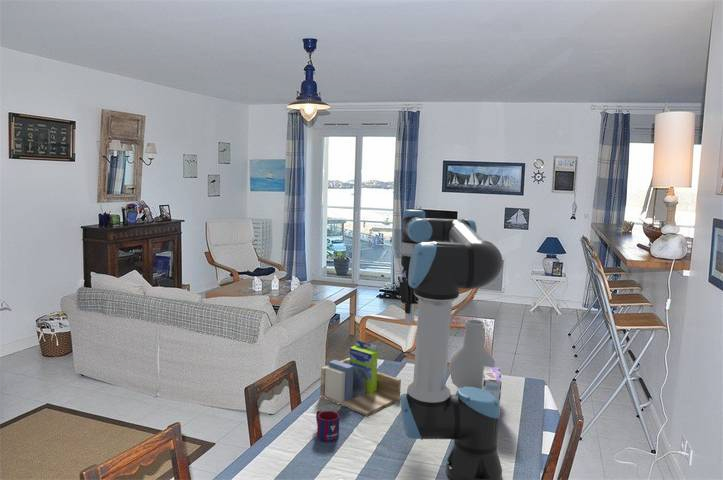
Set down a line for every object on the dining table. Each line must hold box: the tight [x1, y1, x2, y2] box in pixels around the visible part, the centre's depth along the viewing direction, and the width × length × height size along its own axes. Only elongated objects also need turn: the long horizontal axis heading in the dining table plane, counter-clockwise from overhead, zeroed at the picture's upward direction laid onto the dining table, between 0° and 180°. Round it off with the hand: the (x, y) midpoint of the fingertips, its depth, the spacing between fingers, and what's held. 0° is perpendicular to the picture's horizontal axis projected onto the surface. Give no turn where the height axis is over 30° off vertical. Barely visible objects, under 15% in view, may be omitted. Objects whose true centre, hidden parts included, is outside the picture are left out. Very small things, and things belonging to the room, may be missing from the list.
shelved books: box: [325, 359, 353, 402], centre depth 198 cm, size 5×9×12 cm, turn 50°
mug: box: [315, 410, 340, 442], centre depth 173 cm, size 7×10×7 cm
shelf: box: [320, 357, 402, 417], centre depth 201 cm, size 20×22×11 cm
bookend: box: [352, 374, 366, 399], centre depth 203 cm, size 6×10×6 cm, turn 50°
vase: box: [448, 319, 496, 389], centre depth 206 cm, size 17×16×28 cm
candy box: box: [482, 366, 503, 404], centre depth 186 cm, size 14×6×16 cm, turn 168°
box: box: [349, 339, 378, 394], centre depth 206 cm, size 10×4×17 cm, turn 52°
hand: (409, 321), depth 193 cm, fingers closed
